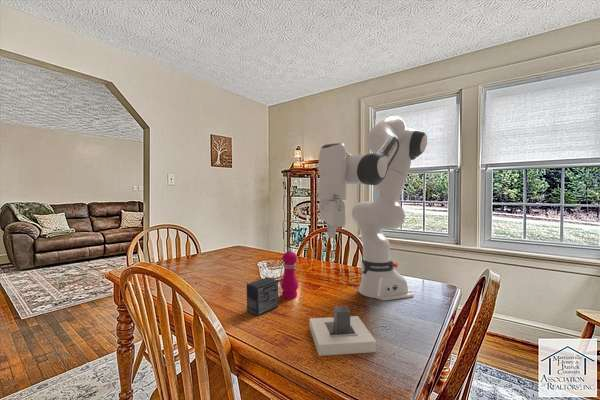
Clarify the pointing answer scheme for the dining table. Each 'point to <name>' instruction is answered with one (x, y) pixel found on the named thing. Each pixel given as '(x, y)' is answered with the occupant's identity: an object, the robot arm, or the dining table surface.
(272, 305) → the small box
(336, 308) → the plug
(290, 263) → the pepper mill
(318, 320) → the socket
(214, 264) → the dining table surface
